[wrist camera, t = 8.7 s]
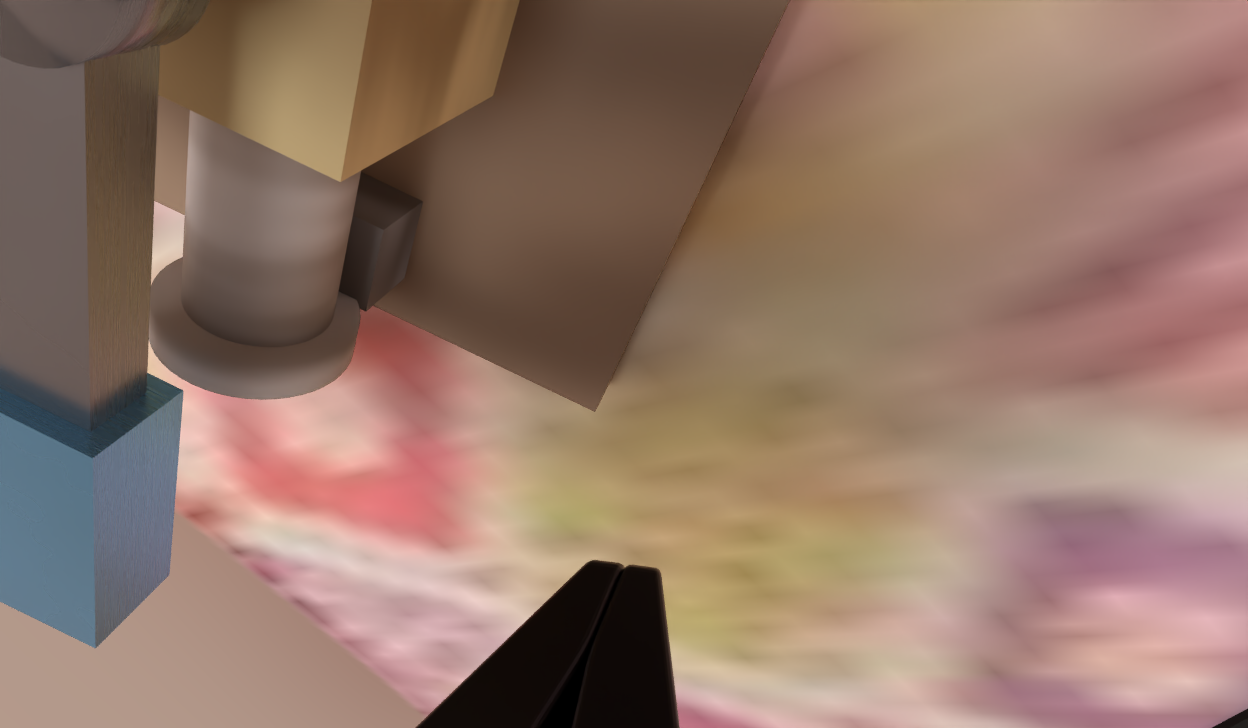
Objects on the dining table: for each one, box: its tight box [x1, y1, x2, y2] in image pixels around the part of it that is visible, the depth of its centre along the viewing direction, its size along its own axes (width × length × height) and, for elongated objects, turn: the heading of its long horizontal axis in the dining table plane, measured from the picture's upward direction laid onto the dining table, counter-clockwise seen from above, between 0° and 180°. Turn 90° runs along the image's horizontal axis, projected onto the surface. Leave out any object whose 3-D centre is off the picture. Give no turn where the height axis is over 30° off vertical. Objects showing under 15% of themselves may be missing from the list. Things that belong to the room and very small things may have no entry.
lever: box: [0, 0, 210, 648], centre depth 12 cm, size 15×3×2 cm, turn 157°
